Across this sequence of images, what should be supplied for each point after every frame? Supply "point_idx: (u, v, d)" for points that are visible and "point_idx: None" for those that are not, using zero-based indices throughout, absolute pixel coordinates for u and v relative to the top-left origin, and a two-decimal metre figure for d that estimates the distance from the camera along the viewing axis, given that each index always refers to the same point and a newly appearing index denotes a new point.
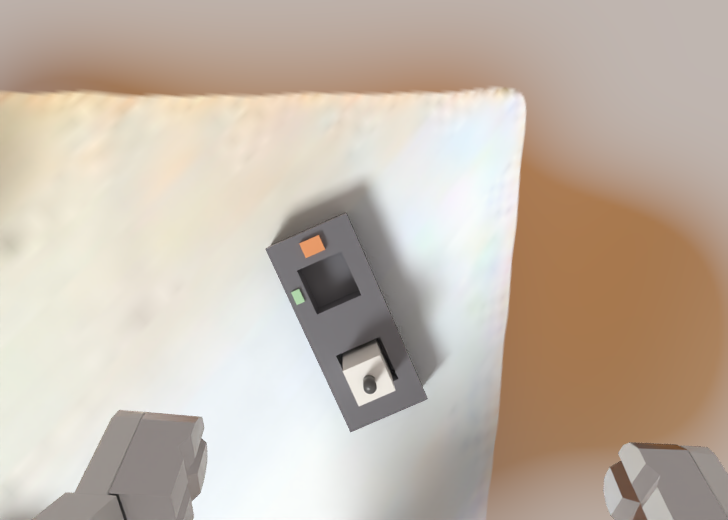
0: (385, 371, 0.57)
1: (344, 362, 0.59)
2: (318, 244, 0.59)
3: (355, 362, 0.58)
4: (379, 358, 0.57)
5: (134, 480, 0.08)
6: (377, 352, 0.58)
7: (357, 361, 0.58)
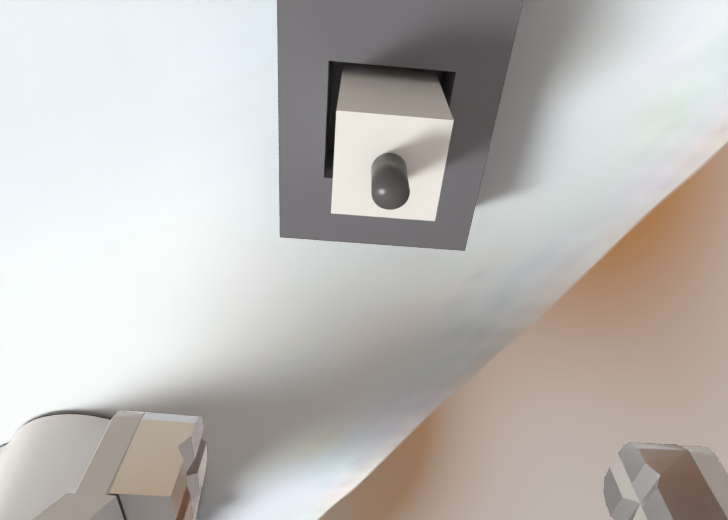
0: (440, 167, 0.21)
1: (344, 89, 0.21)
2: None
3: (376, 103, 0.20)
4: (447, 128, 0.20)
5: (134, 480, 0.08)
6: (445, 109, 0.20)
7: (384, 105, 0.20)
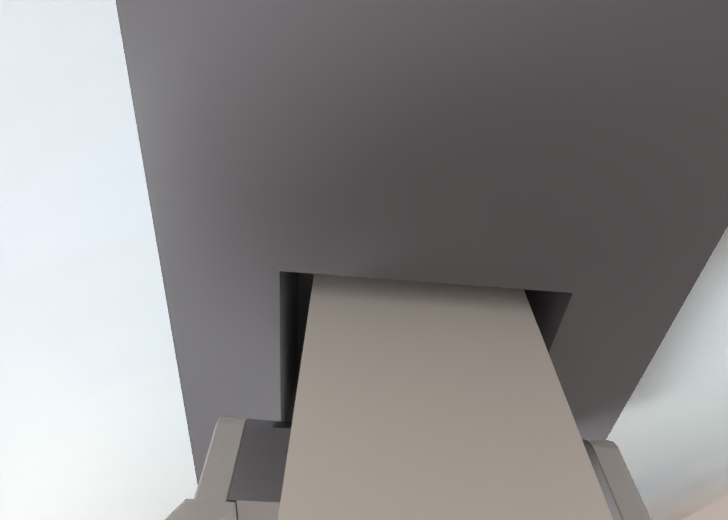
0: None
1: (312, 375, 0.09)
2: None
3: (394, 455, 0.07)
4: None
5: (249, 487, 0.08)
6: (579, 464, 0.08)
7: (416, 463, 0.07)
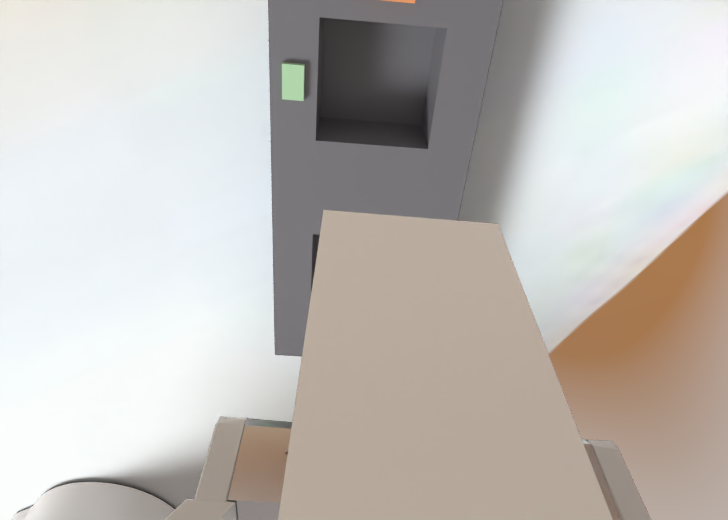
0: None
1: (312, 376, 0.09)
2: None
3: (394, 455, 0.07)
4: None
5: (249, 487, 0.08)
6: (579, 465, 0.08)
7: (416, 464, 0.07)
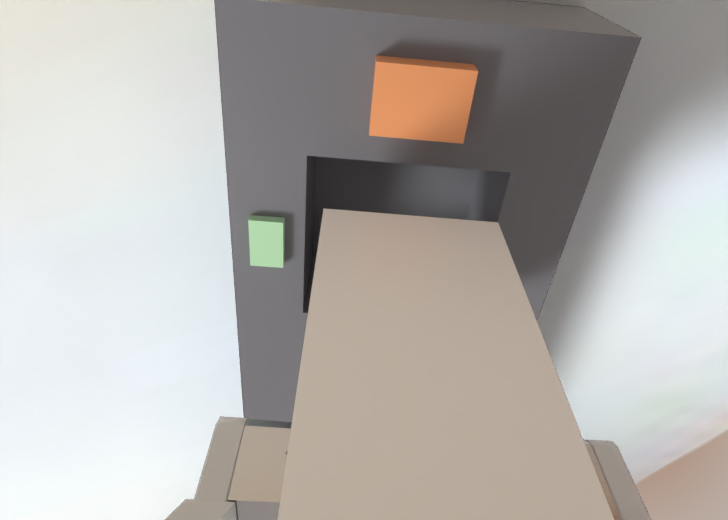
0: None
1: (312, 374, 0.08)
2: (451, 107, 0.13)
3: (394, 455, 0.07)
4: None
5: (249, 487, 0.08)
6: (580, 464, 0.08)
7: (416, 463, 0.07)
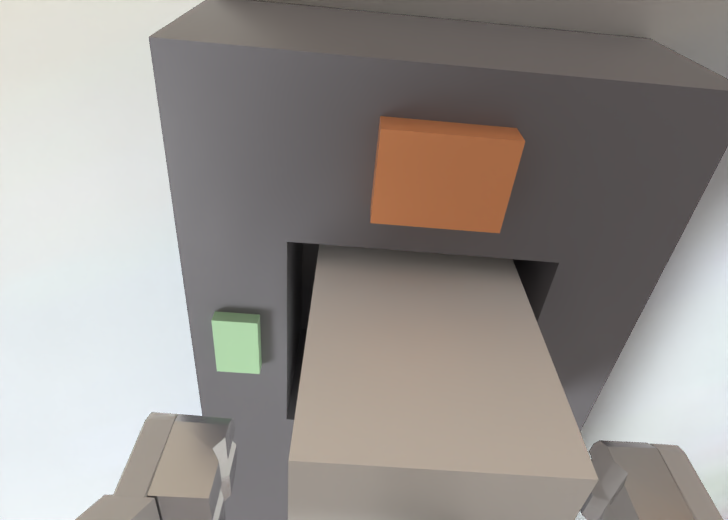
0: None
1: (318, 334, 0.09)
2: (485, 187, 0.09)
3: (393, 401, 0.08)
4: (578, 491, 0.08)
5: (171, 482, 0.08)
6: (561, 411, 0.08)
7: (413, 408, 0.08)
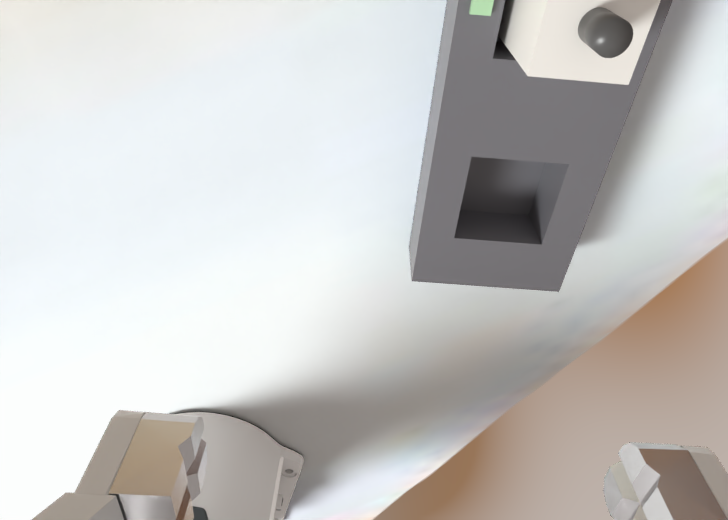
0: (647, 24, 0.21)
1: None
2: None
3: None
4: None
5: (134, 480, 0.08)
6: None
7: None
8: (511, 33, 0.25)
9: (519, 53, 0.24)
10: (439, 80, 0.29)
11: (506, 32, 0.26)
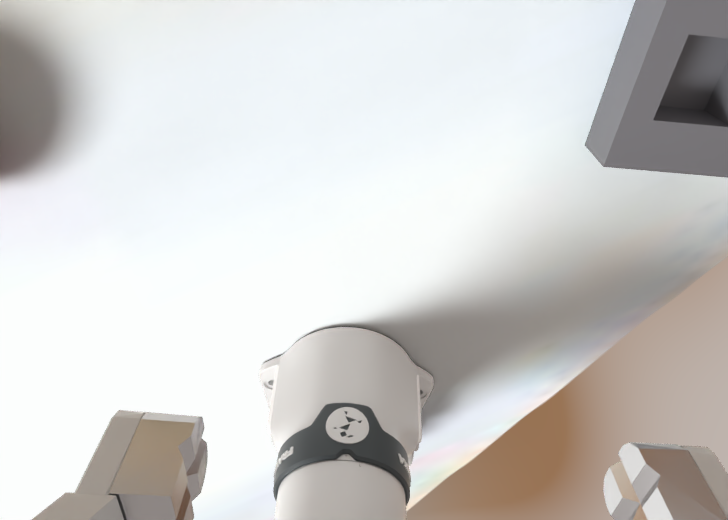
0: None
1: None
2: None
3: None
4: None
5: (134, 480, 0.08)
6: None
7: None
8: None
9: None
10: None
11: None
